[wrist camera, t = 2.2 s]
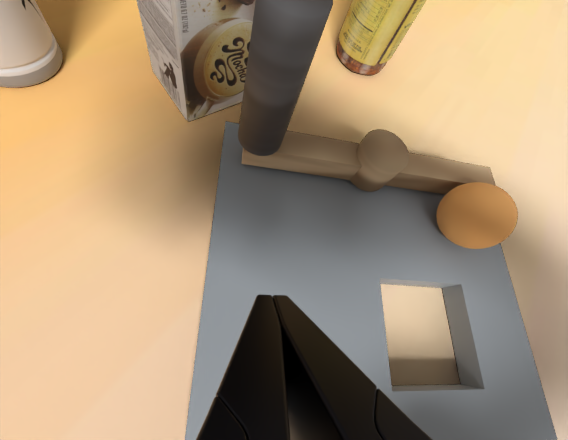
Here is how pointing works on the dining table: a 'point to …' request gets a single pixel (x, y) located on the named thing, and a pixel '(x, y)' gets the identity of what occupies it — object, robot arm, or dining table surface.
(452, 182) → the lever
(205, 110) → the coffee box
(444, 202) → the ball
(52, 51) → the travel mug
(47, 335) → the dining table surface
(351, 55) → the sauce bottle
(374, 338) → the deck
